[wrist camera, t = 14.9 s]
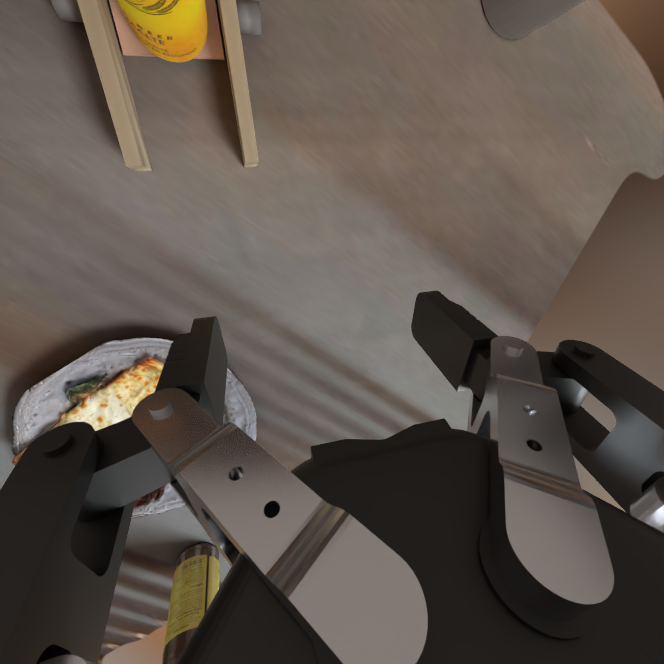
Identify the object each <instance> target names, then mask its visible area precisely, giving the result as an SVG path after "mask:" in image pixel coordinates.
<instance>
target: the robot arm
mask: <svg viewBox="0 0 664 664" xmlns="http://www.w3.org/2000/svg"><path fill="white" fill-rule="evenodd" d="M583 1H585V0H482V4H483V8H484V12H485V15H486V17H487V20H488V22H489V24H490V25H491V27H492V28H493V30H494V31H495V32H496V33H497V34H498V35H500V36H501V37H503V38H505V39H508V40H516V39H520V38H523V37H524V36H526V35H528V34H529V33H531V32H533V31H534V30H536V29H538V28H539V27H541V26H543V25H545V24H547V23H549V22H550V21H552V20H554V19H555V18H557V17H559V16H560V15H562V14H564V13H565V12H567V11H568V10H570V9H572V8H573V7H575V6H577V5H578V4H580V3H582V2H583ZM411 328H412V334H413V337H414V338H415V340H416V341H417V342H418V343H419V345H420V346H421V347H422V348H423V350H424V351H425V352H426V353H427V355H428V356H429V357H430V358H431V360H432V361H433V362H434V363H435V365H436V366H437V367H438V368H439V370H440V371H441V372H442V373H443V375H444V376H445V377H446V378H447V380H448V381H449V382H450V383H451V385H452V386H453V387H454V388H455V390H456V391H457V392H458V391H463V390H468V389H471V390H472V394H471V397H470V404H469V417H468V429H467V431H464V430H457V429H451V427H450V426H449V424H448V423H447V422H446V420H445V419H440V420H435V421H430V422H425V423H421V424H416V425H413V426H411V427H409V428H407V429H405V430H403V431H401V432H399V433H397V434H395V435H393V436H391V437H389V438H387V439H384V440H362V439H344V440H339V441H335V442H330V443H325V444H320V445H316V446H311V459H309V460H307V461H305V462H303V463H302V464H300V465H299V466H297V467H296V468H295V469H294V470H292V471H291V472H290V471H289V470H288V469H287V468H286V467H284V466H283V465H282V464H281V463H280V462H279V461H277V460H276V459H275V458H274V457H273V456H272V455H271V454H269V453H268V452H267V451H266V450H265V449H264V448H262V447H261V446H260V445H259V444H258V443H257V442H255V441H254V440H253V439H252V438H251V437H250V436H248V435H247V434H246V433H245V432H244V431H243V430H241V429H240V428H239V427H238V426H237V425H235V424H234V423H232V422H229V423H227V424H226V425H225V426H224V425H223V417H224V404H225V391H226V378H227V354H226V349H225V345H224V342H223V338H222V334H221V330H220V326H219V322H218V319H217V317H216V316H214V317H206V318H197V319H194V321H193V324H192V328H191V332H190V333H186V334H180V335H179V336H178V337H177V338H176V339H175V340H174V341H173V342H172V343H171V346H170V349H169V352H168V355H167V358H166V360H165V364H164V366H163V369H162V372H161V375H160V378H159V381H158V384H157V386H156V389H155V392H154V393H152V394H150V395H148V396H147V397H145V398H144V399H142V400H141V401H140V402H139V403H138V404H137V405H136V407H135V408H134V410H133V413H132V416H131V417H129V418H127V419H125V420H123V421H120V422H118V423H115V424H113V425H110V426H107V427H105V428H102V429H100V430H97V431H95V430H94V428H93V427H92V425H90V424H89V423H86V422H71V423H67V424H63V425H61V426H58V427H56V428H53V429H51V430H50V431H48V432H46V433H44V434H43V435H41V436H40V437H39V438H37V439H36V440H35V441H34V442H32V443H31V444H30V445H29V446H28V448H27V449H26V450H25V451H24V453H23V454H22V456H21V458H20V459H19V461H18V462H17V464H16V466H15V467H14V469H13V471H12V472H11V474H10V475H9V477H8V479H7V480H6V482H5V484H4V485H3V487H2V489H1V490H0V664H97V663H98V659H99V654H100V650H101V646H102V641H103V637H104V633H105V629H106V624H107V620H108V616H109V611H110V607H111V603H112V599H113V594H114V590H115V586H116V581H117V577H118V573H119V569H120V564H121V560H122V556H123V551H124V547H125V543H126V539H127V534H128V530H129V526H130V521H131V517H132V513H133V509H134V504H135V500H136V499H138V498H140V497H142V496H144V495H146V494H148V493H150V492H152V491H154V490H156V489H158V488H160V487H162V486H164V485H166V484H168V483H169V484H170V485H171V487H172V488H173V489H174V491H175V492H176V493H177V494H178V496H179V497H180V498H181V499H182V501H183V502H184V503H185V505H186V506H187V507H188V508H189V510H190V511H191V512H192V514H193V515H194V516H195V517H196V519H197V520H198V521H199V523H200V524H201V525H202V527H203V528H204V529H205V531H206V532H207V534H208V535H209V537H210V538H211V540H212V541H213V543H214V544H215V546H216V547H217V548H218V550H219V551H220V552H221V554H222V555H223V556H224V558H225V559H226V560H227V561H228V563H229V564H230V565H231V569H230V571H229V572H228V574H227V576H226V578H225V579H224V581H223V583H222V585H221V586H220V588H219V590H218V592H217V593H216V595H215V597H214V599H213V600H212V602H211V604H210V606H209V607H208V609H207V611H206V613H205V614H204V616H203V618H202V620H201V621H200V623H199V625H198V627H197V628H196V630H195V632H194V634H193V635H192V637H191V639H190V641H189V642H188V644H187V646H186V648H185V649H184V651H183V653H182V655H181V657H180V658H179V660H178V662H177V664H664V391H662V390H661V389H660V388H658V387H657V386H655V385H653V384H652V383H651V382H649V381H648V380H646V379H644V378H643V377H642V376H640V375H639V374H637V373H636V372H634V371H632V370H631V369H630V368H628V367H627V366H625V365H624V364H622V363H621V362H619V361H618V360H616V359H615V358H613V357H611V356H610V355H609V354H607V353H605V352H604V351H603V350H601V349H599V348H598V347H595V346H593V345H591V344H588V343H585V342H582V341H576V340H565V341H562V342H560V344H559V345H558V347H557V349H556V351H555V352H541V351H536V350H535V348H534V347H533V346H532V345H530V344H529V343H527V342H525V341H523V340H521V339H518V338H515V337H510V336H497V335H496V334H495V333H494V332H492V331H491V330H490V329H489V328H488V327H486V326H485V325H484V324H483V323H482V322H480V321H479V320H476V318H475V317H474V316H473V315H472V314H470V313H469V312H468V311H467V310H466V309H465V308H463V307H462V306H460V305H458V304H456V303H454V302H452V301H450V300H448V299H447V298H446V297H445V296H444V295H442V294H441V293H440V292H439V291H430V292H421V293H419V294H418V295H417V297H416V302H415V308H414V314H413V319H412V326H411ZM589 392H590V393H591V394H592V395H593V396H595V397H596V398H597V399H598V400H599V401H601V402H602V403H603V404H604V405H605V406H607V407H608V408H609V409H610V410H611V411H612V412H613V413H614V415H615V418H616V426H615V427H614V428H613V430H612V431H611V432H609V431H608V430H607V429H606V428H605V427H604V426H602V425H601V424H600V423H599V422H598V421H597V420H596V419H595V418H594V417H592V416H591V415H590V414H589V413H588V412H587V411H586V410H585V409H584V408H582V407H581V404H582V402H583V401H584V400H585V398H586V397H587V395H588V394H589ZM573 455H574V457H575V458H576V459H577V460H578V461H579V462H580V463H581V464H582V465H583V466H584V467H585V468H586V469H587V470H588V472H589V473H590V474H591V475H592V476H593V477H594V478H595V479H596V480H597V481H598V482H599V483H600V484H601V486H602V487H603V488H604V489H605V490H606V491H607V492H608V493H609V494H610V495H611V496H612V497H613V498H614V500H615V501H616V502H617V503H618V504H619V505H620V506H621V507H622V508H623V509H624V510H625V511H626V512H627V513H626V512H624V511H622V510H620V509H618V508H617V507H614V506H613V505H611V504H609V503H607V502H605V501H603V500H602V499H600V498H598V497H596V496H594V495H592V494H590V493H589V492H587V491H585V490H583V489H582V488H581V486H580V482H579V478H578V474H577V470H576V466H575V462H574V458H573Z"/></svg>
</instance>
